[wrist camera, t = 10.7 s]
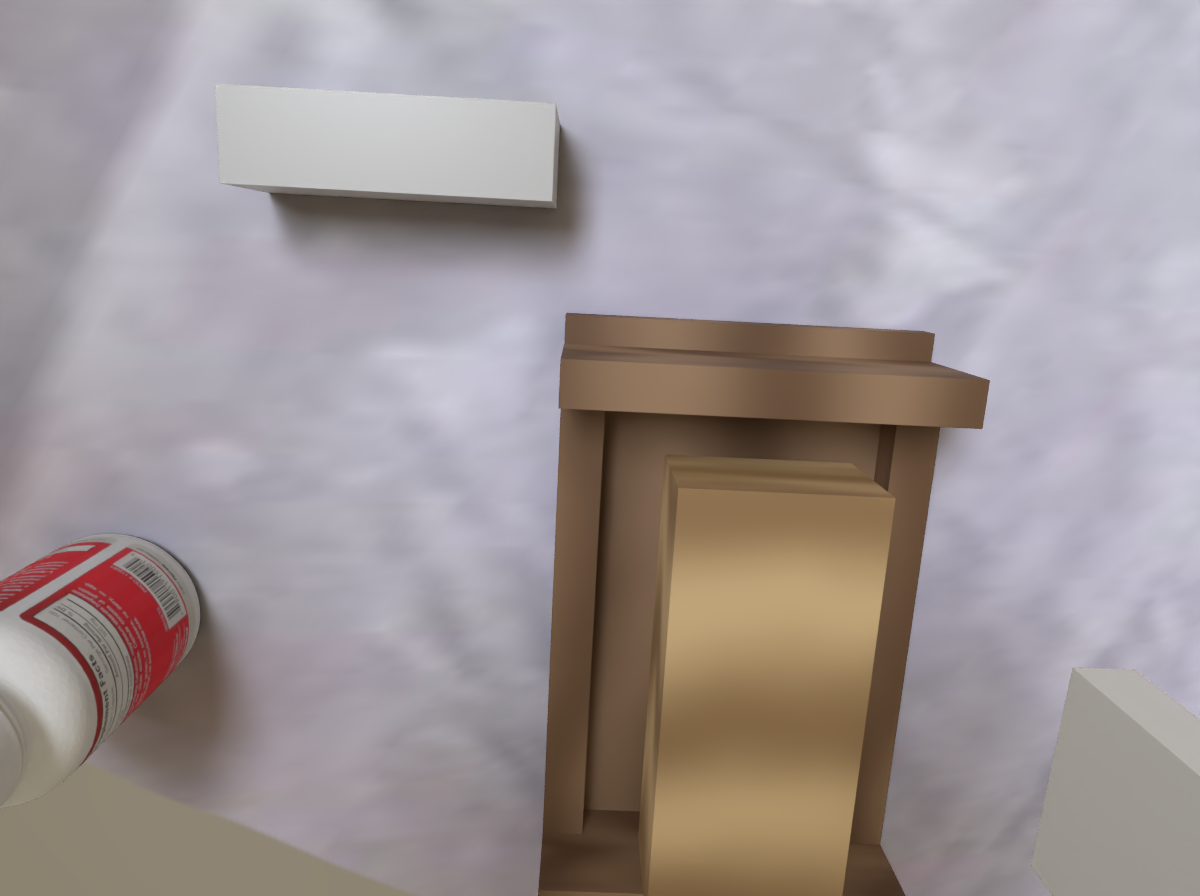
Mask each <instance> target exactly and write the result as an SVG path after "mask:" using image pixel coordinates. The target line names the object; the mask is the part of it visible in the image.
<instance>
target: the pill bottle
mask: <svg viewBox="0 0 1200 896" xmlns="http://www.w3.org/2000/svg"><path fill="white" fill-rule="evenodd" d="M199 625H200V605H199V600H198V596H197V592H196V589H195V587H194V584H193V582H192V580H191V579H190V577H189V575H188V574H187V572H186V571H185V570H184V569H183V567H182V566H181V565H180V564H179V563H178V562H177V561H176V560H175V559H174V558H173V557H172V556H171V555H169V554H168V553H167V552H166V551H164V550H163V549H161V548H160V547H158V546H156V545H154V544H152V543H150V542H148V541H145V540H143V539H140V538H137V537H133V536H129V535H124V534H97V535H91V536H86V537H83V538H80V539H78V540H75V541H73V542H71V543H68V544H66V545H64V546H62V547H60V548H59V549H57V550H55V551H53V552H52V553H50V554H48V555H46V556H45V557H43V558H41V559H39V560H38V561H36V562H34V563H32V564H31V565H29V566H27V567H25V568H24V569H22V570H20V571H18V572H17V573H15V574H13V575H11V576H10V577H8V578H6V579H4V580H2V581H1V582H0V809H1V808H7V807H12V806H17V805H21V804H24V803H27V802H29V801H32V800H34V799H37V798H39V797H41V796H43V795H45V794H46V793H48V792H50V791H51V790H53V789H54V788H56V787H57V786H58V785H60V784H61V783H62V782H64V781H65V780H66V779H67V778H68V777H69V776H70V775H71V774H72V773H73V772H74V771H75V770H76V769H77V768H78V767H79V766H80V765H81V764H83V763H84V762H85V760H86V759H87V758H88V757H89V756H90V755H91V754H92V753H93V752H94V751H95V750H96V749H97V748H98V747H99V746H100V745H101V744H102V743H103V742H104V741H105V740H106V739H107V738H108V737H109V736H110V735H111V734H112V733H113V732H114V731H115V730H116V729H117V728H118V727H119V726H120V725H121V724H122V723H123V722H124V721H125V720H126V719H127V718H128V717H129V716H130V715H131V713H132V712H133V711H134V710H135V709H136V708H137V707H138V706H139V705H140V704H141V703H142V702H143V701H144V700H145V699H146V698H147V697H148V696H149V695H150V694H151V693H152V692H153V691H154V690H155V689H156V688H157V687H158V686H159V685H160V684H161V683H162V682H163V681H164V680H165V679H166V678H167V677H168V676H169V675H170V674H171V672H172V671H173V670H174V669H175V668H176V667H177V666H178V665H179V664H180V663H181V662H182V660H183V659H184V658H185V657H186V655H187V654H188V653H189V651H190V650H191V648H192V646H193V644H194V642H195V639H196V637H197V634H198V629H199Z"/></svg>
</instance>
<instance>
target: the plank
mask: <svg viewBox="0 0 1200 896" xmlns="http://www.w3.org/2000/svg"><path fill="white" fill-rule="evenodd" d="M895 500H896V498H895V497H894V496H892V495H891V494H890V493H889V492H887V491H886V490H885V489H883V488H882V487H881V486H880V485H878V484H877V483H876V482H875V481H873V480H872V479H871V478H869V477H868V476H867V475H866V474H864V473H863V472H862V471H861V470H859V469H858V468H857V467H855V466H854V465H853V464H852V463H835V462H814V461H793V460H772V459H750V458H729V457H708V456H687V455H665V464H664V478H663V492H662V506H661V521H660V535H659V549H658V563H657V577H656V591H655V605H654V619H653V634H652V648H651V662H650V676H649V690H648V704H647V718H646V733H645V747H644V761H643V775H642V789H641V803H640V817H639V831H638V842H639V853H640V864H641V876H642V887H643V896H842V894H843V887H844V880H845V872H846V865H847V857H848V850H849V842H850V835H851V827H852V820H853V812H854V805H855V798H856V790H857V783H858V775H859V768H860V760H861V753H862V745H863V738H864V731H865V723H866V716H867V708H868V701H869V693H870V686H871V678H872V671H873V663H874V656H875V649H876V641H877V634H878V626H879V619H880V611H881V604H882V596H883V589H884V581H885V574H886V567H887V559H888V552H889V544H890V537H891V529H892V522H893V514H894V507H895Z"/></svg>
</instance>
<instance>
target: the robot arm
mask: <svg viewBox="0 0 1200 896" xmlns="http://www.w3.org/2000/svg"><path fill="white" fill-rule="evenodd" d="M1031 867H1032V869H1033V870H1034V871H1035V873H1036V874H1037V875H1038V877H1039V878H1040V880H1041V881H1042V882H1043V884H1044V885H1045V886H1046V888H1047V889H1048V890H1049V892H1050V893H1051V895H1052V896H1200V719H1199V718H1198V717H1196V716H1195V715H1194V714H1192V713H1191V712H1190V711H1188V710H1187V709H1186V708H1185V707H1183V706H1182V705H1181V704H1179V703H1178V702H1177V701H1175V700H1174V699H1173V698H1171V697H1170V696H1169V695H1168V694H1166V693H1165V692H1164V691H1162V690H1161V689H1160V688H1158V687H1157V686H1156V685H1154V684H1153V683H1152V682H1150V681H1149V680H1148V679H1147V678H1145V677H1144V676H1143V675H1141V674H1140V673H1139V672H1137V671H1136V670H1126V669H1098V668H1072V673H1071V678H1070V682H1069V687H1068V692H1067V696H1066V701H1065V706H1064V711H1063V715H1062V720H1061V725H1060V729H1059V734H1058V739H1057V744H1056V748H1055V753H1054V758H1053V762H1052V767H1051V772H1050V777H1049V781H1048V786H1047V791H1046V795H1045V800H1044V805H1043V810H1042V814H1041V819H1040V824H1039V828H1038V833H1037V838H1036V843H1035V847H1034V852H1033V857H1032V861H1031Z"/></svg>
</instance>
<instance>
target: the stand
mask: <svg viewBox="0 0 1200 896" xmlns="http://www.w3.org/2000/svg"><path fill="white" fill-rule="evenodd" d="M215 92H216V114H217V136H218V158H219V180H220V183H222V184H227V185H232V186H237V187H242V188H247V189H252V190H257V191H262V192H268V193H283V194H302V195H320V196H338V197H357V198H375V199H393V200H411V201H430V202H448V203H466V204H485V205H503V206H521V207H540V208H557V186H558V160H559V135H560V122H559V117H558V112H557V107H556V103H542V102H524V101H507V100H490V99H473V98H455V97H438V96H421V95H404V94H386V93H369V92H352V91H335V90H317V89H300V88H283V87H266V86H248V85H231V84H215Z"/></svg>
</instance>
